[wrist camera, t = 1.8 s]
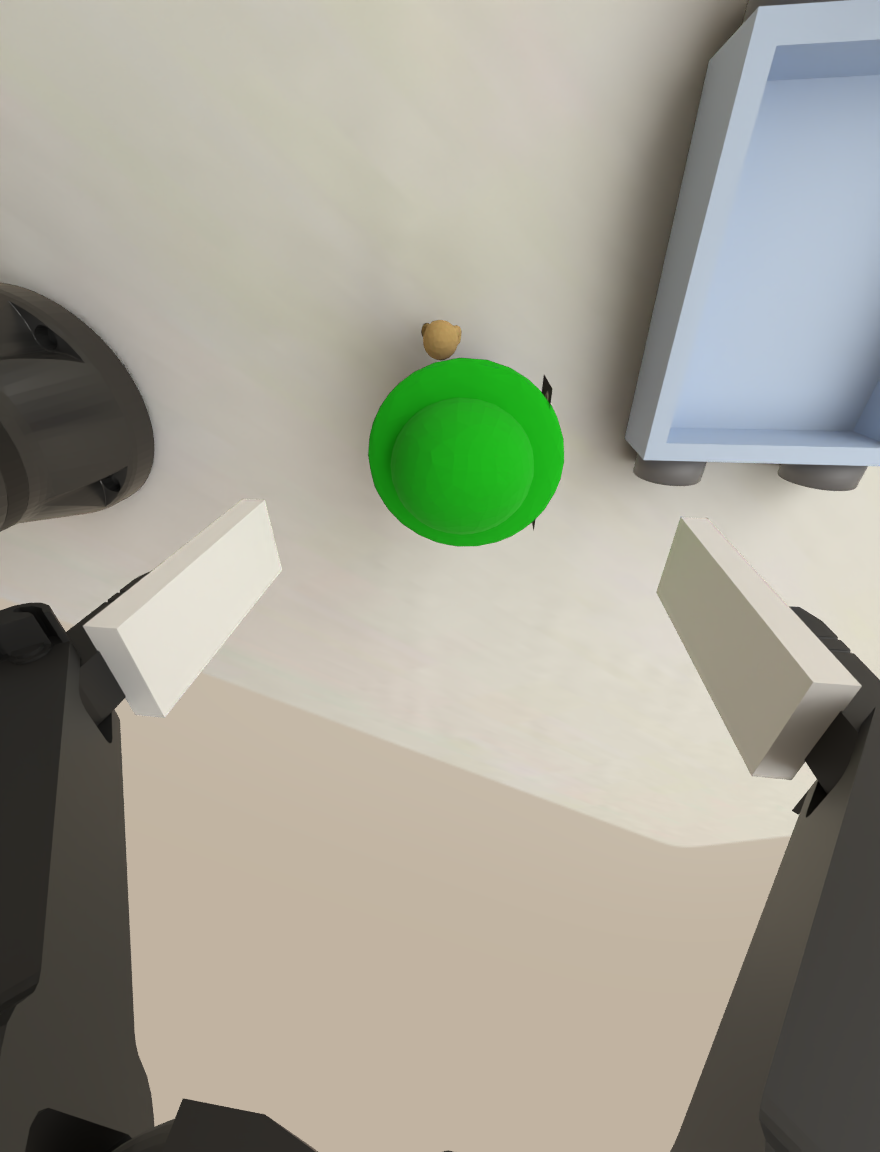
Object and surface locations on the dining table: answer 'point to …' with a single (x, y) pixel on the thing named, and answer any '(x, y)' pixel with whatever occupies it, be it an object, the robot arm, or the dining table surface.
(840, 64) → the chassis
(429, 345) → the toy
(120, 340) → the dining table surface
